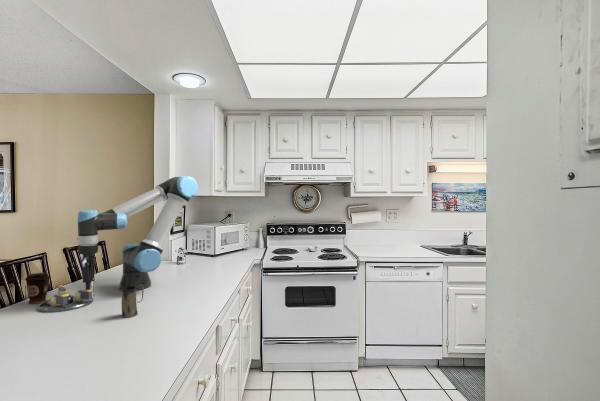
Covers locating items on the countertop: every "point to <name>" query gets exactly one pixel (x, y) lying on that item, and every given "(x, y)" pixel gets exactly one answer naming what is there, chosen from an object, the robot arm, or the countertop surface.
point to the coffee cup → (37, 287)
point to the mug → (129, 301)
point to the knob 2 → (58, 300)
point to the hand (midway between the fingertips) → (89, 296)
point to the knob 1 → (62, 290)
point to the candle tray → (69, 306)
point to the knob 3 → (83, 295)
